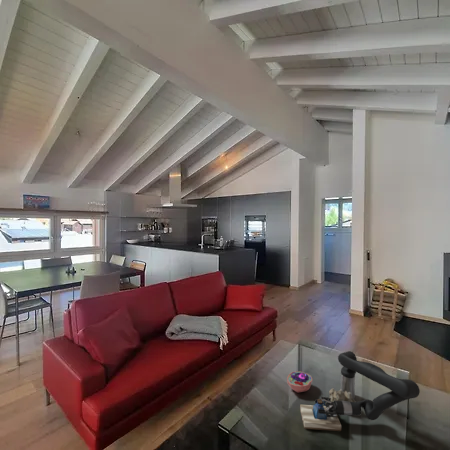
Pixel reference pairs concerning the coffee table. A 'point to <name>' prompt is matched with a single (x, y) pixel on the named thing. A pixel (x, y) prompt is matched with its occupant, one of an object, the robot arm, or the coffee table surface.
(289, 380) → the cell model
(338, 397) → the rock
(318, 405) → the perfume bottle
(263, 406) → the coffee table surface
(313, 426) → the socket plinth
